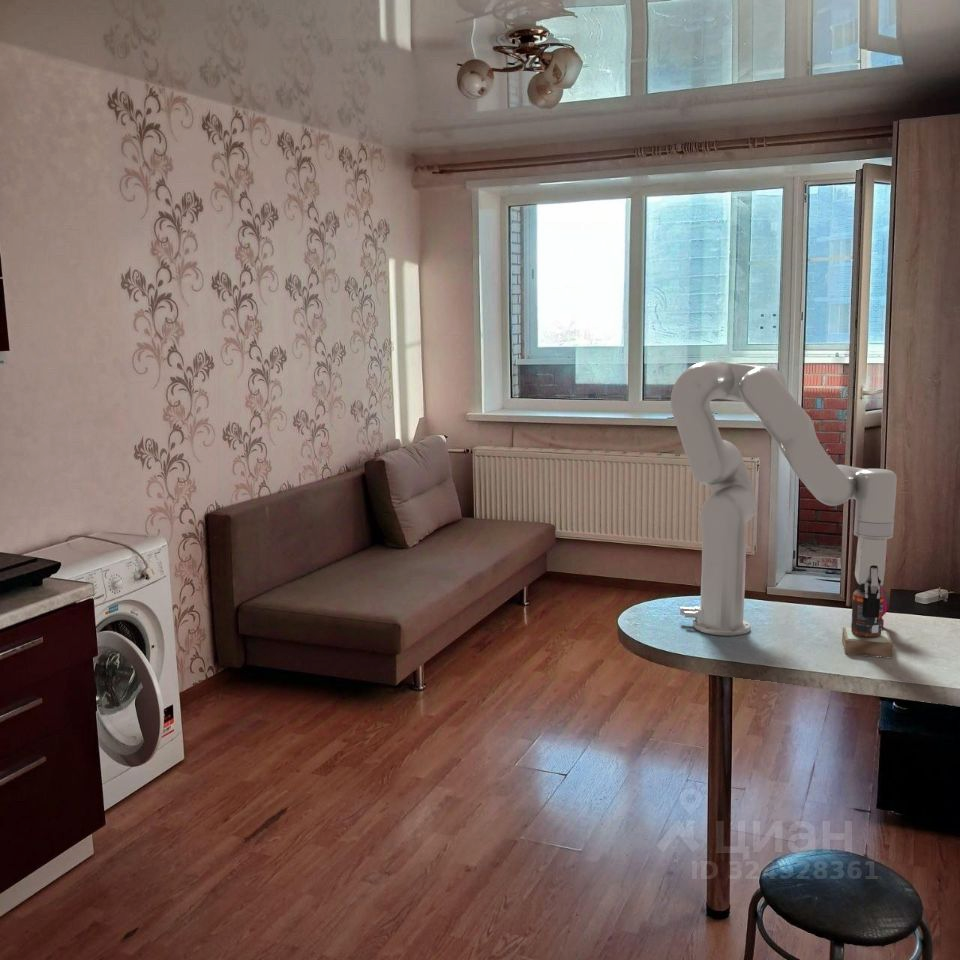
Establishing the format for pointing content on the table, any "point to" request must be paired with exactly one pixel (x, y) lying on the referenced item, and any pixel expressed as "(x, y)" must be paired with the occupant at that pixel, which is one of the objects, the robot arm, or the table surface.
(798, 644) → the table surface
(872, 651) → the base
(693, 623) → the robot arm
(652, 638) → the table surface
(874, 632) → the supplement bottle
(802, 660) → the table surface
